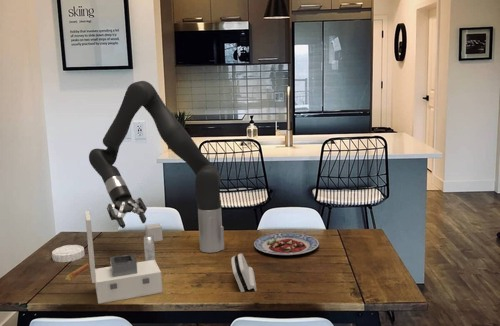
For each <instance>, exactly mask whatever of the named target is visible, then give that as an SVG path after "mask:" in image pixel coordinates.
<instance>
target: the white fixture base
mask: <svg viewBox="0 0 500 326" xmlns="http://www.w3.org/2000/svg"><path fill="white" fill-rule="evenodd" d="M84 217H85V227H86V239H87V250H88V262H89V266H90V268H89V271H90V276H91V277H90V278H91V283H92V284H95V292H96V293H95V294H96V299H97V304H104V303H105V304H106V303H111V302H115V301H116V302H117V301H122V300H126V299H133V298H140V297H144V296H149V295H150V296H151V295H155V294H161V293H163V286H162V285H163V283H162V281H163V280H162V271H161V270H160V267H159V266H158V264H157V261H156V259H155V260H150V261H145V260H144V261H138V262H137V273H136V274H130V275H123V276H117V277H113V275H112V271H111V266H106V267H99V268H96V266H95V253H94V242H93V230H92V220H91V219H92V218H91V215H90V210H84Z"/></svg>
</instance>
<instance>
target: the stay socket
mask: <svg viewBox="0 0 500 326" xmlns="http://www.w3.org/2000/svg"><path fill="white" fill-rule="evenodd" d="M109 261H110V262H109V263H110V267H111V271H112V275H113V277H117V276H123V275H130V274H136V273H137V260H136V256H135V254H134V253H131V254H124V255H117V256H111V257H109Z"/></svg>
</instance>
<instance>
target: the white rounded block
mask: <svg viewBox="0 0 500 326" xmlns="http://www.w3.org/2000/svg"><path fill="white" fill-rule="evenodd" d="M230 263H231V267H232V273H233V275H234V278H235V280H236V282H237V285H238V288H239V290H240V293H245V292H246V290H249V291H250V290H252V289H253V290H254V292H257V290H258V289H257V283H256V278H255V272H254V269H253V267H251V266H249V264H248V263H247V260H246V258H245V256H244V254H243V253H238V255H233V256H232V257H231V262H230Z"/></svg>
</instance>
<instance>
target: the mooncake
mask: <svg viewBox="0 0 500 326" xmlns="http://www.w3.org/2000/svg"><path fill="white" fill-rule="evenodd" d="M51 257H52V261H54V262H56V263H70V262H74V261H78V260H80V259H82V258H83V257H85V248H84V246H82V245H80V244H79V245H78V244H67V245H62V246H59V247H57V248H55V249H53V250H52V251H51Z"/></svg>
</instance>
